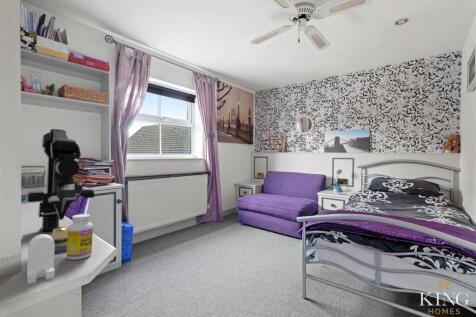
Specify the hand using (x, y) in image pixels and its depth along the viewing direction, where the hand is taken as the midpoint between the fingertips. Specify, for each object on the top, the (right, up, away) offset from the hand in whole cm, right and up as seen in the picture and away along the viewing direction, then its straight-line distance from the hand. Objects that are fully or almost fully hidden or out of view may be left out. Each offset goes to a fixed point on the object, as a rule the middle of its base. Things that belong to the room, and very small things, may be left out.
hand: (61, 219), depth 84 cm
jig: (0, -9, 0) cm, 9 cm away
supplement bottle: (+12, -10, -9) cm, 18 cm away
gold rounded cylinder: (0, -9, 0) cm, 9 cm away
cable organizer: (+10, -9, -21) cm, 25 cm away
